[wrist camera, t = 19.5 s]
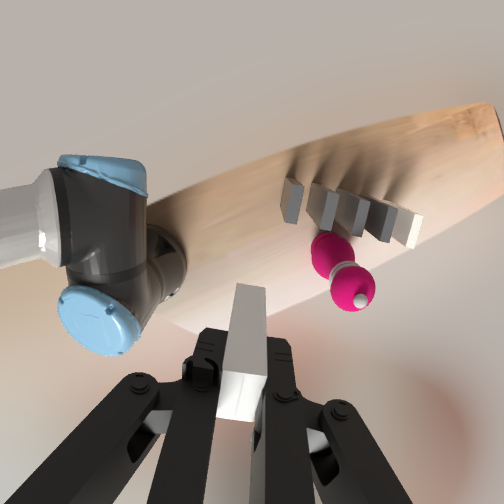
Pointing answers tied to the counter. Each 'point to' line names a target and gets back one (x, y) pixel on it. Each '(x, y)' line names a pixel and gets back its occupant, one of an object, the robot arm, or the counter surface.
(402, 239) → the white domino
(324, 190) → the domino
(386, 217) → the domino
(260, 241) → the counter surface
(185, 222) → the counter surface
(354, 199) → the domino
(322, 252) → the pepper mill
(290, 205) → the domino
